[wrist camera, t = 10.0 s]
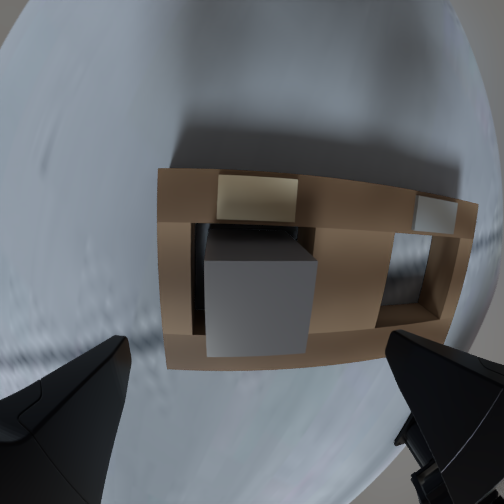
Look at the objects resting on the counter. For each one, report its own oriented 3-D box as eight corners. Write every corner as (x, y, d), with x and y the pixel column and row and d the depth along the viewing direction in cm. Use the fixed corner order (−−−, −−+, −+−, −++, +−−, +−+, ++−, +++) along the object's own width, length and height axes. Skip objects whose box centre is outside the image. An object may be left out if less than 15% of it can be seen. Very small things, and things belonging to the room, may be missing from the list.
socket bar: (423, 327, 21) (445, 347, 17) (172, 341, 18) (166, 372, 15) (451, 198, 18) (481, 204, 14) (168, 168, 15) (156, 168, 12)
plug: (279, 298, 18) (305, 353, 12) (209, 299, 18) (207, 356, 12) (284, 230, 17) (317, 260, 11) (208, 228, 16) (203, 260, 11)
